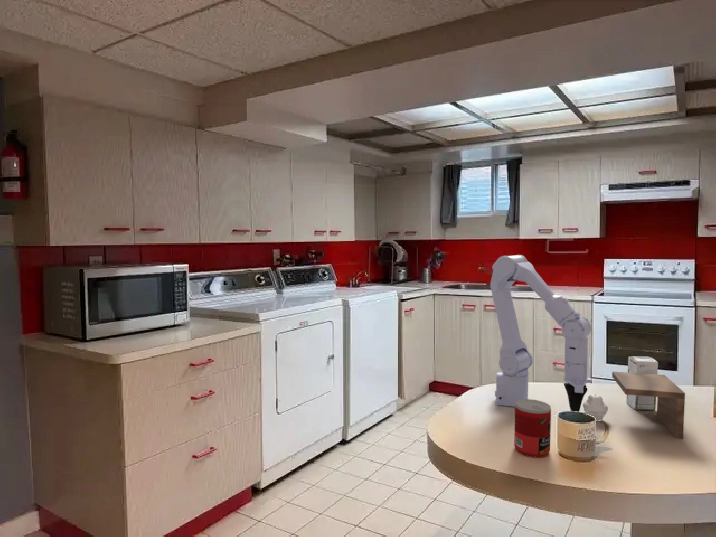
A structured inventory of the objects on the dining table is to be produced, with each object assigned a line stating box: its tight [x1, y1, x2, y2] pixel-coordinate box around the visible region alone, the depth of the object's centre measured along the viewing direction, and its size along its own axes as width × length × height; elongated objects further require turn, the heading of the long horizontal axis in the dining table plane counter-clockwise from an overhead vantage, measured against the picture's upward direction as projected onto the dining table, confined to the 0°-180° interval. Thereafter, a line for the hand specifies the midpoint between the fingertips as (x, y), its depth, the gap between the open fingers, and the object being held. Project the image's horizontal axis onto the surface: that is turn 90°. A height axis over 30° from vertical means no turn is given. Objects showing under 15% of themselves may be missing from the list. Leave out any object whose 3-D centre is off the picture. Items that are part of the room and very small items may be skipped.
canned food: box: [513, 398, 552, 459], centre depth 114 cm, size 8×8×11 cm
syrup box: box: [625, 355, 659, 411], centre depth 142 cm, size 6×6×14 cm
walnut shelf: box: [611, 371, 686, 440], centre depth 130 cm, size 13×16×12 cm
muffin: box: [582, 394, 609, 421], centre depth 133 cm, size 6×6×7 cm
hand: (574, 410), depth 135 cm, fingers closed
